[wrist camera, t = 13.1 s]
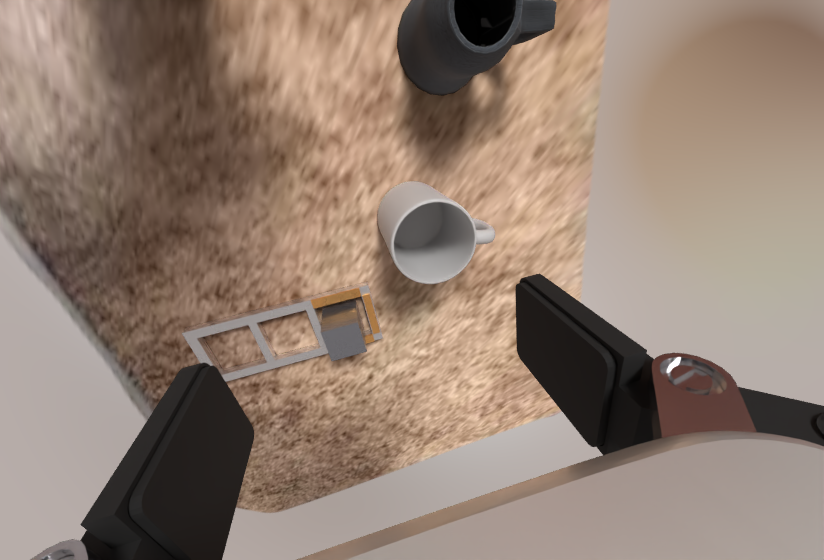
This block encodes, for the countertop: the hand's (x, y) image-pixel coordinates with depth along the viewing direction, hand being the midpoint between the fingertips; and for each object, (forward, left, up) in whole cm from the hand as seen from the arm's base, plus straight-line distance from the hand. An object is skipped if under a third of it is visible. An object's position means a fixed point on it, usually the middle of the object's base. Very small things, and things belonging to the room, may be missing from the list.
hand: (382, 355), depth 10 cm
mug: (+5, +8, -30) cm, 32 cm away
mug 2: (-12, +14, -30) cm, 36 cm away
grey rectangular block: (+16, -5, -30) cm, 34 cm away
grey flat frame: (+16, -12, -30) cm, 36 cm away
